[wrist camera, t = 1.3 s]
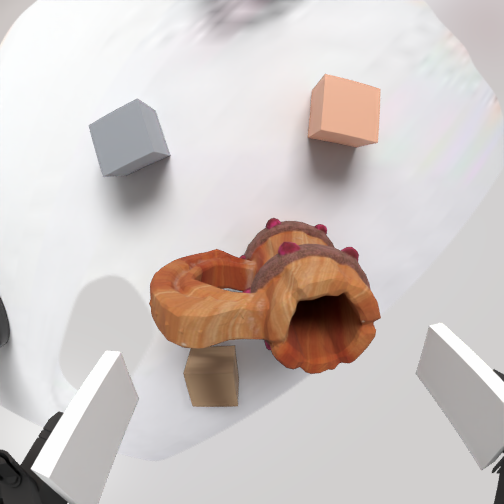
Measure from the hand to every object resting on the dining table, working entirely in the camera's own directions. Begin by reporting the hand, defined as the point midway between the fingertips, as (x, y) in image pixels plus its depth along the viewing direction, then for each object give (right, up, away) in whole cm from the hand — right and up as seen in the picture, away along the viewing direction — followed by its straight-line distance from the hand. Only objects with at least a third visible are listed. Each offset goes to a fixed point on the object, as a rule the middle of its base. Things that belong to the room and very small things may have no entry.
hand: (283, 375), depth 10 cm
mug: (0, +5, +17) cm, 18 cm away
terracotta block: (+7, +18, +14) cm, 23 cm away
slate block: (-12, +16, +14) cm, 24 cm away
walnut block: (-6, -8, +21) cm, 23 cm away
